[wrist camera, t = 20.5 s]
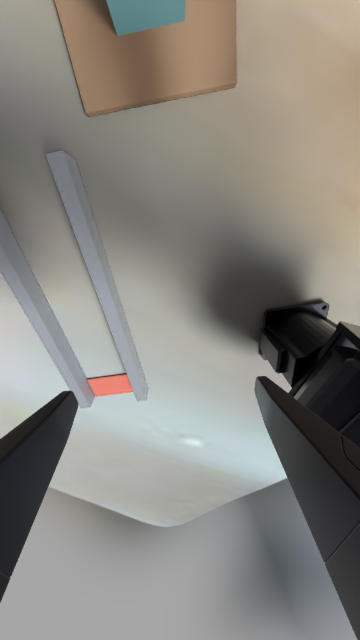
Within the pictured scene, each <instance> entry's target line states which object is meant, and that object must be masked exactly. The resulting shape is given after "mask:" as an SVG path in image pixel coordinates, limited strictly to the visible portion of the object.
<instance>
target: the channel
mask: <svg viewBox="0 0 360 640" xmlns="http://www.w3.org/2000/svg"><path fill="white" fill-rule="evenodd" d="M45 155H46V158H47V161H48V163H49V166H50V169H51V172H52V174H53V177H54V180H55V182H56V185H57V188H58V190H59V193H60V196H61V198H62V201H63V204H64V206H65V209H66V212H67V215H68V217H69V220H70V223H71V225H72V228H73V231H74V233H75V236H76V239H77V241H78V244H79V247H80V249H81V252H82V255H83V258H84V260H85V263H86V266H87V268H88V271H89V274H90V276H91V279H92V282H93V284H94V287H95V290H96V292H97V295H98V298H99V301H100V303H101V306H102V309H103V311H104V314H105V317H106V319H107V322H108V325H109V327H110V330H111V333H112V335H113V338H114V341H115V344H116V346H117V349H118V352H119V354H120V357H121V360H122V362H123V365H124V368H125V370H126V373H127V374H122V375H114V376H107V377H99V378H92V379H88V380H87V378H86V376H85V374H84V372H83V370H82V368H81V366H80V364H79V362H78V360H77V358H76V356H75V354H74V352H73V350H72V349H71V347H70V345H69V343H68V341H67V339H66V337H65V335H64V333H63V331H62V329H61V327H60V325H59V323H58V321H57V319H56V317H55V315H54V313H53V311H52V309H51V307H50V305H49V303H48V301H47V299H46V297H45V296H44V294H43V292H42V290H41V288H40V286H39V284H38V282H37V280H36V278H35V276H34V274H33V272H32V270H31V268H30V266H29V264H28V262H27V260H26V258H25V256H24V254H23V252H22V250H21V248H20V246H19V244H18V243H17V241H16V239H15V237H14V235H13V233H12V231H11V229H10V227H9V225H8V223H7V221H6V219H5V217H4V215H3V213H2V211H1V209H0V271H1V273H2V275H3V276H4V278H5V280H6V281H7V283H8V285H9V287H10V288H11V290H12V292H13V293H14V295H15V297H16V299H17V300H18V302H19V304H20V305H21V307H22V309H23V310H24V312H25V314H26V316H27V317H28V319H29V321H30V322H31V324H32V326H33V328H34V329H35V331H36V333H37V334H38V336H39V338H40V339H41V341H42V343H43V345H44V346H45V348H46V350H47V351H48V353H49V355H50V357H51V358H52V360H53V362H54V363H55V365H56V367H57V368H58V370H59V372H60V374H61V375H62V377H63V379H64V380H65V382H66V384H67V386H68V387H69V389H70V391H73V392H74V394H75V396H76V398H77V400H78V404H79V406H80V408H88V407H91V404H92V402H93V400H94V398H95V396H96V397H97V396H105V395H113V394H120V393H128V392H134V395H135V397H136V400H137V401H143V400H147V394H148V386H147V383H146V380H145V377H144V374H143V370H142V367H141V364H140V361H139V358H138V355H137V352H136V348H135V345H134V342H133V339H132V336H131V333H130V330H129V326H128V323H127V320H126V317H125V314H124V311H123V308H122V304H121V301H120V298H119V295H118V292H117V289H116V286H115V282H114V279H113V276H112V273H111V270H110V267H109V264H108V260H107V257H106V254H105V251H104V248H103V245H102V241H101V238H100V235H99V232H98V229H97V226H96V223H95V219H94V216H93V213H92V210H91V207H90V204H89V201H88V197H87V194H86V191H85V188H84V185H83V182H82V179H81V175H80V172H79V169H78V166H77V163H76V160H75V158H74V157H72V156H70V155H69V154H67V153H66V152H64V151H63V150H62V151H57V152H52V153H46V154H45Z"/></svg>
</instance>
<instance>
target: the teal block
mask: <svg viewBox="0 0 360 640" xmlns="http://www.w3.org/2000/svg"><path fill="white" fill-rule="evenodd" d="M106 1H107V4H108V7H109V11H110V14H111V17H112V20H113V23H114V27H115V30H116V33H117V36H120V35H125V34H129V33H134V32H138V31H143V30H147V29H152V28H156V27H161V26H165V25H170V24H174V23H179V22H183V21H185V8H186V0H106Z"/></svg>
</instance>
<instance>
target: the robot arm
mask: <svg viewBox="0 0 360 640" xmlns="http://www.w3.org/2000/svg"><path fill="white" fill-rule="evenodd" d="M323 306H324V307H323ZM322 307H323V308H322ZM328 310H329V304H328V303H326V302H317V303H310V304H303V305H296V306H289V307H282V308H275V309H269V310H266V311H265V312H264V319H263V329H262V330H261V338H260V349H261V351H262V353H261V356H262V358H263V359H264V360H268V361H269V363H270V364H271V366H272V367H273V369H274V370H275V371H276V372H277V373H282V374H283V376H284V377H285V379H286V380H287V381H288V383H289V384H290V386H291V387H292V389H291V390H290V392H289V393H287V392H286V391H284V390H283V389H282V388H280V387H279V386H278V385H277V384H275V383H274V382H273V381H271V380H270V379H269V378H267V377H266V376H259V377H257V378H256V382H255V394H256V398H257V401H258V404H259V407H260V410H261V414H262V417H263V420H264V423H265V426H266V428H267V431H268V433H269V436H270V438H271V440H272V443H273V445H274V447H275V449H276V452H277V454H278V456H279V459H280V461H281V463H282V466H283V468H284V470H285V473H286V475H287V477H288V479H289V482H290V484H291V486H292V489H293V491H294V493H295V496H296V498H297V500H298V503H299V505H300V507H301V509H302V512H303V514H304V517H305V519H306V521H307V524H308V526H309V528H310V530H311V533H312V535H313V537H314V540H315V542H316V544H317V546H318V549H319V551H320V554H321V556H322V558H323V561H324V562H325V566H326V568H327V570H328V572H329V575H330V577H331V579H332V582H333V584H334V586H335V589H336V591H337V593H338V596H339V598H340V600H341V603H342V605H343V607H344V610H345V612H346V614H347V616H348V619H349V621H350V623H351V626H352V628H353V630H354V633H355V635H356V637H357V639H358V640H360V326H356V325H353V324H349V323H345V322H341V321H340V322H339V323H338V325H337V324H335V323H333V322H332V321H330V320H329V319H327V314H328ZM269 313H271V315H269V316H268V314H269ZM77 408H78V400H77V398H76V396H75V394H74V392H73V391H63V392H61V393H60V394H59V395H58V396H56V397H55V398H54V399H52V400H51V401H50V402H48V403H47V404H46V405H44V406H43V407H42V408H40V409H39V410H38V411H37V412H35V413H34V414H33V415H31V416H30V417H29V418H27V419H26V420H25V421H23V422H22V423H21V424H19V425H18V426H17V427H16V428H14V429H13V430H12V431H10V432H9V433H8V434H6V435H5V436H4V437H2V438H1V439H0V602H1V600H2V597H3V595H4V592H5V590H6V588H7V585H8V583H9V580H10V576H11V575H12V572H13V570H14V568H15V565H16V563H17V561H18V558H19V556H20V554H21V551H22V548H23V546H24V544H25V541H26V539H27V537H28V534H29V532H30V529H31V527H32V525H33V522H34V520H35V517H36V515H37V513H38V510H39V508H40V505H41V503H42V500H43V498H44V496H45V493H46V491H47V488H48V486H49V484H50V481H51V479H52V476H53V474H54V472H55V469H56V467H57V464H58V462H59V459H60V457H61V455H62V452H63V450H64V447H65V445H66V443H67V440H68V437H69V434H70V431H71V428H72V425H73V421H74V418H75V415H76V412H77Z"/></svg>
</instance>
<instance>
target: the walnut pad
mask: <svg viewBox="0 0 360 640" xmlns="http://www.w3.org/2000/svg"><path fill="white" fill-rule="evenodd" d="M55 3H56V7H57V11H58V14H59V18H60V22H61V25H62V29H63V32H64V36H65V40H66V43H67V47H68V51H69V54H70V58H71V62H72V65H73V69H74V73H75V76H76V80H77V84H78V87H79V91H80V94H81V98H82V102H83V105H84V109H85V113H86V114H87V115H88V117H90V116H95V115H100V114H105V113H110V112H115V111H120V110H125V109H130V108H135V107H140V106H145V105H150V104H155V103H160V102H165V101H170V100H175V99H180V98H185V97H190V96H195V95H200V94H205V93H210V92H215V91H220V90H224V89H229V88H234V87H235V85H236V83H237V61H236V0H186V8H185V21H183V22H179V23H174V24H170V25H165V26H161V27H156V28H152V29H147V30H143V31H138V32H134V33H129V34H125V35H120V36H117V33H116V30H115V27H114V23H113V20H112V17H111V14H110V11H109V7H108V4H107V1H106V0H55Z"/></svg>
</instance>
